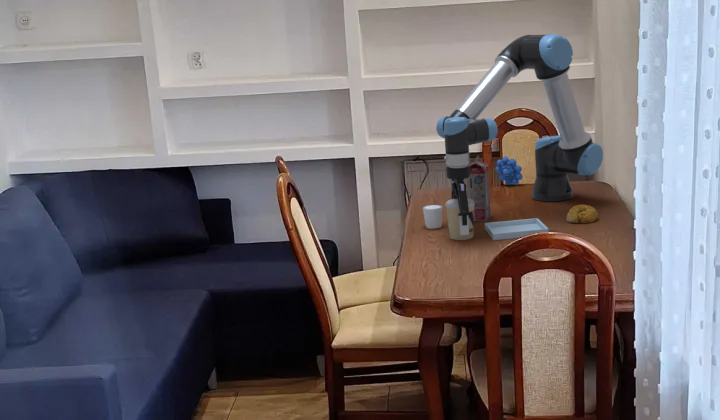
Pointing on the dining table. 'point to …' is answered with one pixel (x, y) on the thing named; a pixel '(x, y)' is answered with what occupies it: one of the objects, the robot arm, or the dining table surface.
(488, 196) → the juice carton
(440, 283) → the dining table surface
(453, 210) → the coffee cup
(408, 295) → the dining table surface
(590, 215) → the bagel
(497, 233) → the tray
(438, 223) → the white tapered cylinder
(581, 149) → the robot arm
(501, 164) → the grapes
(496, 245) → the dining table surface
